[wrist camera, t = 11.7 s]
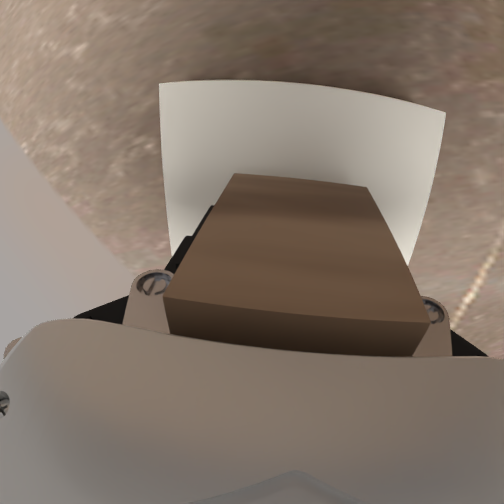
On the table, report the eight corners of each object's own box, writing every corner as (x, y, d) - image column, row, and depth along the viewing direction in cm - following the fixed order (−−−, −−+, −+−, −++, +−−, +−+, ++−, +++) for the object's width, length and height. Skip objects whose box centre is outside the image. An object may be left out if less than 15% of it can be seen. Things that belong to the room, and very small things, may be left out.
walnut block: (234, 173, 11) (162, 296, 5) (366, 186, 11) (431, 322, 5) (233, 279, 14) (192, 418, 8) (342, 291, 13) (356, 434, 8)
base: (189, 80, 14) (159, 83, 11) (414, 102, 13) (446, 112, 10) (197, 265, 21) (178, 304, 17) (372, 284, 20) (383, 326, 16)
